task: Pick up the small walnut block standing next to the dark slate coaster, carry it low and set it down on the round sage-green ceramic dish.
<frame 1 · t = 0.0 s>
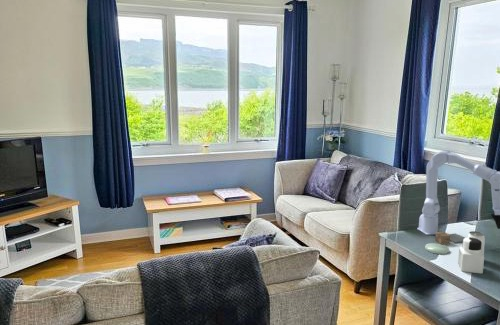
sage dish: (436, 249, 175), on the table
can: (474, 259, 164), on the table
walnut block: (442, 242, 183), on the table
container: (469, 269, 155), on the table
slate coaster: (455, 239, 187), on the table
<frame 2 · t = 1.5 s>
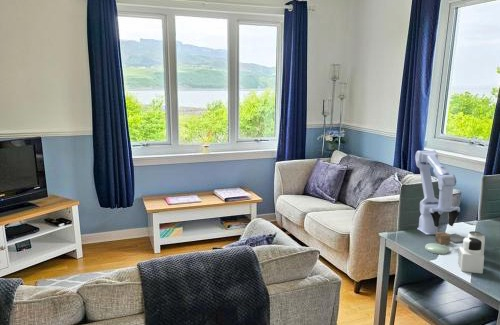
hand: (443, 225, 182), 8 cm above the table, tool pointing down, fingers open, 7 cm apart
nothing on the table moved.
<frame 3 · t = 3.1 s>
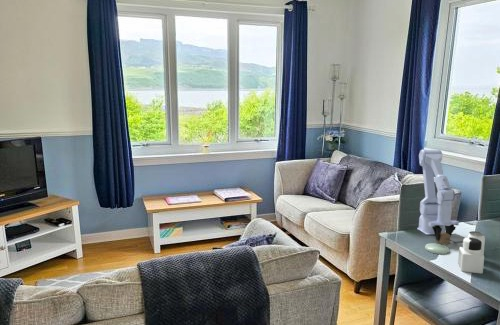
hand: (442, 239, 183), 1 cm above the table, tool pointing down, fingers closed on walnut block, 4 cm apart
walnut block: (442, 242, 183), on the table, touching gripper
everything else where it was.
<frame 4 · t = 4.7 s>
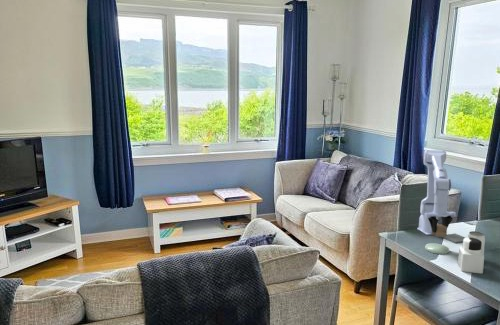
hand: (438, 231, 174), 9 cm above the table, tool pointing down, fingers closed on walnut block, 4 cm apart
walnut block: (438, 235, 175), point 7 cm above the table, touching gripper
everything else where it was.
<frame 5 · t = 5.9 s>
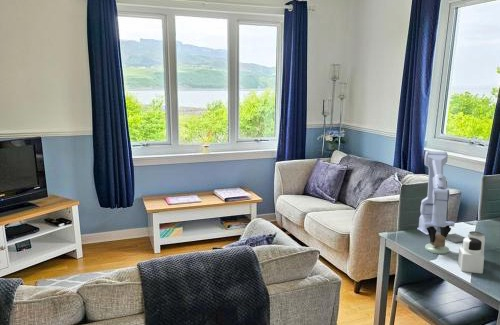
hand: (437, 241, 174), 4 cm above the table, tool pointing down, fingers closed on walnut block, 4 cm apart
walnut block: (437, 244, 174), point 2 cm above the table, touching gripper
everything else where it was.
when the fingers open (4 cm above the table, at t = 6.5 s): walnut block drops 1 cm, resting on sage dish.
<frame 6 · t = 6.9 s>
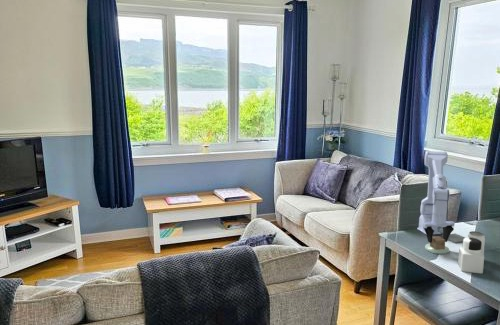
hand: (437, 241, 174), 4 cm above the table, tool pointing down, fingers open, 7 cm apart
walnut block: (437, 247, 174), point 1 cm above the table, touching sage dish
everything else where it was.
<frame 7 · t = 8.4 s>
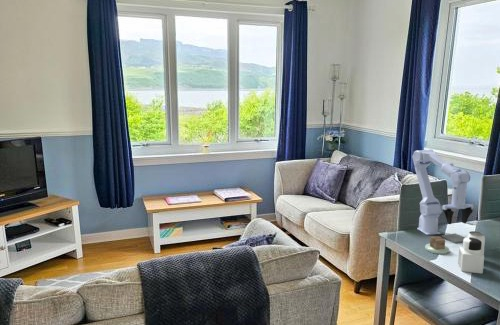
hand: (456, 223, 180), 10 cm above the table, tool pointing down, fingers open, 7 cm apart
nothing on the table moved.
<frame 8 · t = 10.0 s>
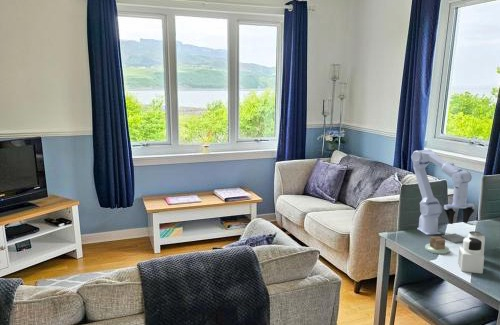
hand: (457, 222, 180), 10 cm above the table, tool pointing down, fingers open, 7 cm apart
nothing on the table moved.
at the end: walnut block 0.2 cm from the sage dish (horizontally); walnut block touching sage dish; walnut block point 1.2 cm above the table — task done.
